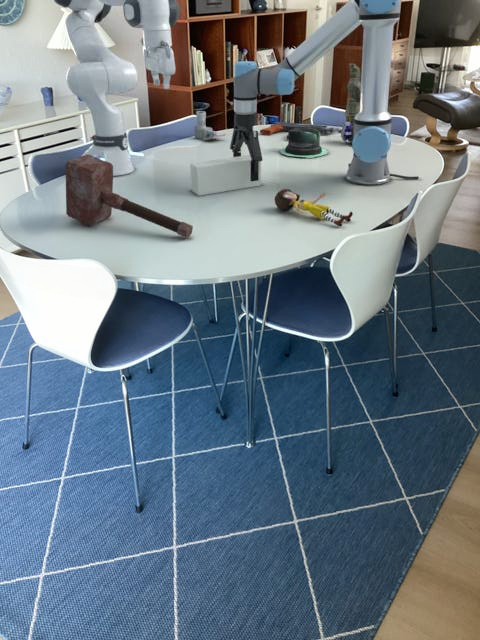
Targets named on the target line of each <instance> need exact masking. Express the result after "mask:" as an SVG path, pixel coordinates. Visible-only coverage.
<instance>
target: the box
mask: <svg viewBox="0 0 480 640" xmlns="http://www.w3.org/2000/svg"><path fill="white" fill-rule="evenodd" d="M250 161H251V157H250V154H245V155H241V156H238V157H233V156H232V157H225V158H218V159H211V160H206V161H195V162H190V163H189V166H190V167H189V168H190V180H191V181H190V182H191V192H193V193H194V194H195V195H197V196H199V197H201V196H206V195H213V194H218V193H224V192H229V191H236V190H243V189H248V188H254V187H260V186H261V185H262V161H260V162H259V181H252V182H251V163H250Z"/></svg>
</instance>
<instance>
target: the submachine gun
mask: <svg viewBox="0 0 480 640" xmlns="http://www.w3.org/2000/svg"><path fill="white" fill-rule="evenodd" d="M298 128H311V129H316V130H318V131H319V132H320V133H321V135H322V136H329V135H331V134H333V133H334V131H335V129H334V128H333V127H329V128H328V125H321V124H310V123H298V122H287V121H286V122H285V121H276V122H275V121H274V122H273V124H270V126H269V127H265V128H261V129H260V130H259V134H261V135H265V136H266V135H267V136H270V135H272V134H274V133H278V132H289V131H291V130H294V129H298ZM286 140H289V133H288V134H287V135H286Z"/></svg>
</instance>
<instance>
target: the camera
mask: <svg viewBox="0 0 480 640" xmlns="http://www.w3.org/2000/svg"><path fill="white" fill-rule="evenodd" d="M206 118H207V112H206V111H205V110H198V111H196V119H197V125H195V126H194V128H193V129H194V138H195V139H198V140H203V141H208V140H213V139H216V138H222V137H225V136H227V134H226V133H223V134H218V132H217V131H215V130H213V128H212V127H211V126H206Z"/></svg>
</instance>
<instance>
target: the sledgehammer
mask: <svg viewBox="0 0 480 640" xmlns="http://www.w3.org/2000/svg"><path fill="white" fill-rule="evenodd" d="M81 156H82V155H81ZM81 156H79V157H76V158H73V159H71V160H68V161H67V162H65V208H66V210H65V211H66V212H65V213H66V216H68V218H71V219H72V220H76V221H78V222H80V223H82V224H84V225H87V226H89V227H93V226H95V225H97V224H99V223H101V222H103V221H105V220H106V219H109V218H111V216H112V211H113V209H115V210H119V211H121V212H126V213H128V214H131V215H133V216H134V217H137V218H140V219H142V220H145V221H147V222H149V223H151V224H155V225H157V226H160V227H162V228H164V229H167V230H169V231H171V232H174V233H176V234H177V235H178V236H181V237H183V238H186V239H189V238H190V236H191V235H192V233H193V227H194V226H193V225H192V224H189V223H186V222H184V221H180V220H177V219H174V218H172V217H170V216H168V215H164V214H162V213H159V212H157V211H155V210H153V209H150V208H148V207H146V206H143V205H141V204H138V203H135V202H133V201H131V200H129V199H128V198H126V197H124V196H121V195H120V194H118V193H115V192H114V191H113V190H114V189H113V188H114V176H113V165H112V164H111V163H109V162H107V161H104V160H101V159H99V158H96V157H94V156H91V155H89V154H87V155H84V156H82V157H81Z"/></svg>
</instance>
